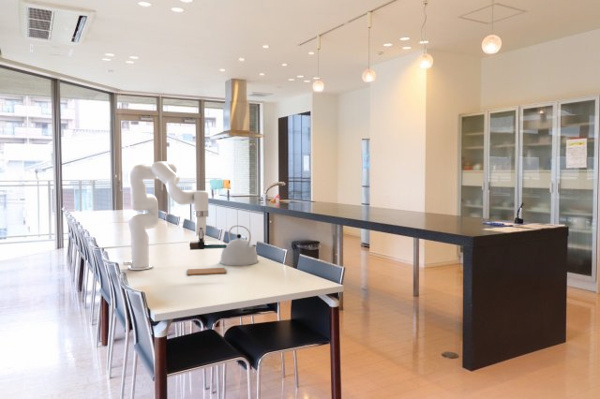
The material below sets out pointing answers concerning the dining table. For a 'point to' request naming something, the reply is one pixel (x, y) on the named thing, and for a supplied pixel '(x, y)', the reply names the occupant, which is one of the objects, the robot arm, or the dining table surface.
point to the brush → (206, 246)
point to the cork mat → (206, 271)
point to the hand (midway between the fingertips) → (201, 248)
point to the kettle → (239, 251)
